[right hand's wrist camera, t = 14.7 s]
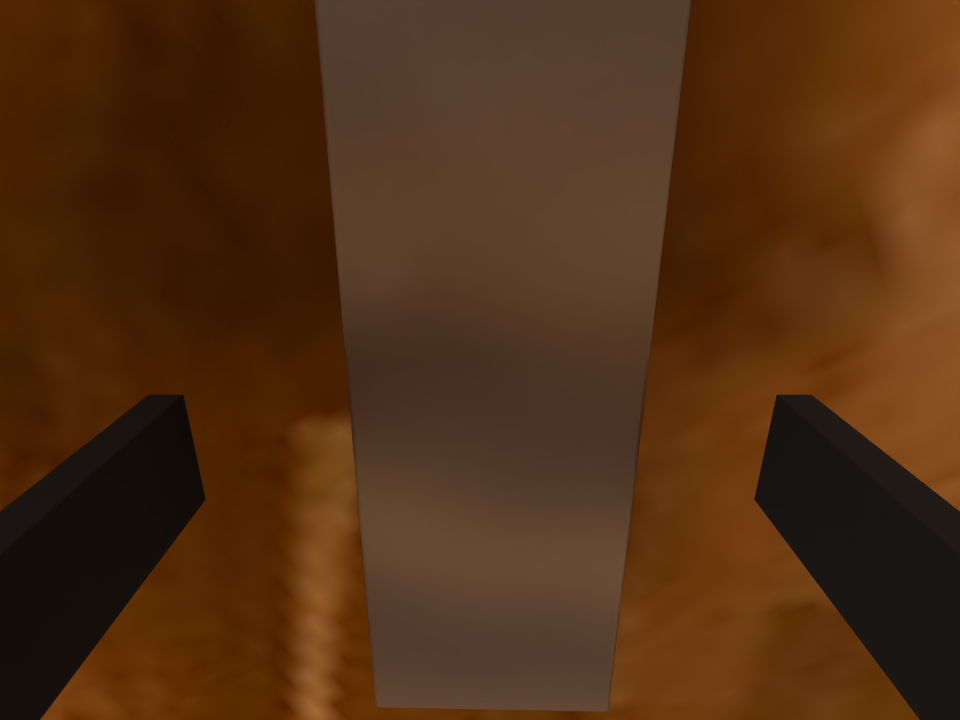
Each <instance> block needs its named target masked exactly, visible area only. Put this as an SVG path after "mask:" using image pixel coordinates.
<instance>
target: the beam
mask: <svg viewBox="0 0 960 720" xmlns="http://www.w3.org/2000/svg"><path fill="white" fill-rule="evenodd" d="M691 1H692V0H314V4H315V15H316V27H317V38H318V50H319V61H320V73H321V84H322V96H323V107H324V118H325V130H326V141H327V153H328V164H329V176H330V187H331V199H332V210H333V222H334V233H335V245H336V256H337V268H338V279H339V290H340V302H341V313H342V325H343V336H344V348H345V359H346V371H347V382H348V394H349V405H350V417H351V428H352V440H353V451H354V462H355V474H356V485H357V497H358V508H359V520H360V531H361V543H362V554H363V566H364V577H365V589H366V600H367V611H368V623H369V634H370V646H371V657H372V669H373V680H374V692H375V703H376V706H377V707H390V708H440V709H491V710H541V711H592V712H605V711H607V710H608V707H609V698H610V690H611V681H612V673H613V664H614V656H615V647H616V639H617V630H618V622H619V613H620V605H621V596H622V588H623V579H624V571H625V562H626V554H627V545H628V537H629V528H630V520H631V511H632V503H633V494H634V486H635V477H636V469H637V460H638V452H639V443H640V435H641V426H642V418H643V409H644V401H645V392H646V384H647V375H648V367H649V358H650V350H651V341H652V333H653V324H654V316H655V307H656V299H657V290H658V282H659V273H660V265H661V256H662V248H663V239H664V231H665V222H666V214H667V205H668V197H669V188H670V180H671V171H672V163H673V154H674V145H675V137H676V128H677V120H678V111H679V103H680V94H681V86H682V77H683V69H684V60H685V52H686V43H687V35H688V26H689V18H690V9H691Z"/></svg>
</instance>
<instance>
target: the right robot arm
mask: <svg viewBox="0 0 960 720" xmlns="http://www.w3.org/2000/svg"><path fill="white" fill-rule="evenodd" d="M204 501H205V495H204V490H203V485H202V481H201V476H200V471H199V467H198V462H197V457H196V452H195V448H194V443H193V438H192V434H191V429H190V424H189V420H188V415H187V410H186V406H185V401H184V396H183V395H148V396H147V397H145V398H144V399H143V400H141V401H140V402H139V403H138V404H136V405H135V406H134V407H133V408H131V409H130V410H129V411H127V412H126V413H125V414H124V415H122V416H121V417H120V418H119V419H117V420H116V421H115V422H113V423H112V424H111V425H110V426H108V427H107V428H106V429H105V430H103V431H102V432H101V433H100V434H98V435H97V436H96V437H94V438H93V439H92V440H91V441H89V442H88V443H87V444H86V445H84V446H83V447H82V448H80V449H79V450H78V451H77V452H75V453H74V454H73V455H72V456H70V457H69V458H68V459H67V460H65V461H64V462H63V463H61V464H60V465H59V466H58V467H56V468H55V469H54V470H53V471H51V472H50V473H49V474H47V475H46V476H45V477H44V478H42V479H41V480H40V481H39V482H37V483H36V484H35V485H33V486H32V487H31V488H30V489H28V490H27V491H26V492H25V493H23V494H22V495H21V496H20V497H18V498H17V499H16V500H14V501H13V502H12V503H11V504H9V505H8V506H7V507H6V508H4V509H3V510H2V511H0V720H40V719H41V718H42V716H43V715H44V714H45V712H46V711H47V710H48V708H49V707H50V706H51V704H52V703H53V702H54V700H55V699H56V698H57V696H58V695H59V694H60V693H61V691H62V690H63V689H64V687H65V686H66V685H67V683H68V682H69V681H70V679H71V678H72V677H73V675H74V674H75V673H76V671H77V670H78V669H79V667H80V666H81V665H82V663H83V662H84V661H85V659H86V658H87V657H88V655H89V654H90V653H91V651H92V650H93V649H94V647H95V646H96V645H97V643H98V642H99V641H100V639H101V638H102V637H103V635H104V634H105V633H106V631H107V630H108V629H109V627H110V626H111V625H112V623H113V622H114V621H115V619H116V618H117V617H118V615H119V614H120V613H121V611H122V610H123V609H124V607H125V606H126V605H127V603H128V602H129V601H130V599H131V598H132V597H133V595H134V594H135V593H136V591H137V590H138V589H139V587H140V586H141V585H142V583H143V582H144V581H145V579H146V578H147V577H148V575H149V574H150V573H151V571H152V570H153V569H154V567H155V566H156V565H157V563H158V562H159V561H160V559H161V558H162V557H163V555H164V554H165V553H166V551H167V550H168V549H169V547H170V546H171V545H172V543H173V542H174V541H175V539H176V538H177V537H178V535H179V534H180V533H181V531H182V530H183V529H184V527H185V526H186V525H187V523H188V522H189V521H190V519H191V518H192V517H193V515H194V514H195V513H196V511H197V510H198V509H199V507H200V506H201V505H202V503H203V502H204ZM755 501H756V502H757V503H758V505H759V506H760V507H761V509H762V510H763V511H764V513H765V514H766V515H767V517H768V518H769V519H770V521H771V522H772V523H773V525H774V526H775V527H776V529H777V530H778V531H779V533H780V534H781V535H782V537H783V538H784V539H785V541H786V542H787V543H788V545H789V546H790V547H791V549H792V550H793V551H794V553H795V554H796V555H797V557H798V558H799V559H800V561H801V562H802V563H803V565H804V566H805V567H806V569H807V570H808V571H809V573H810V574H811V575H812V577H813V578H814V579H815V581H816V582H817V583H818V585H819V586H820V587H821V589H822V590H823V591H824V593H825V594H826V595H827V597H828V598H829V599H830V601H831V602H832V603H833V605H834V606H835V607H836V609H837V610H838V611H839V613H840V614H841V615H842V617H843V618H844V619H845V621H846V622H847V623H848V625H849V626H850V627H851V629H852V630H853V631H854V633H855V634H856V635H857V637H858V638H859V639H860V641H861V642H862V643H863V645H864V646H865V647H866V649H867V650H868V651H869V653H870V654H871V655H872V657H873V658H874V659H875V661H876V662H877V663H878V665H879V666H880V667H881V669H882V670H883V671H884V673H885V674H886V675H887V677H888V678H889V679H890V681H891V682H892V683H893V685H894V686H895V687H896V689H897V690H898V691H899V693H900V694H901V695H902V696H903V698H904V699H905V700H906V702H907V703H908V704H909V706H910V707H911V708H912V710H913V711H914V712H915V714H916V715H917V716H918V718H919V719H920V720H960V511H958V510H957V509H956V508H954V507H953V506H952V505H951V504H949V503H948V502H947V501H946V500H944V499H943V498H942V497H940V496H939V495H938V494H937V493H935V492H934V491H933V490H932V489H930V488H929V487H928V486H927V485H925V484H924V483H923V482H921V481H920V480H919V479H918V478H916V477H915V476H914V475H913V474H911V473H910V472H909V471H907V470H906V469H905V468H904V467H902V466H901V465H900V464H899V463H897V462H896V461H895V460H893V459H892V458H891V457H890V456H888V455H887V454H886V453H885V452H883V451H882V450H881V449H880V448H878V447H877V446H876V445H874V444H873V443H872V442H871V441H869V440H868V439H867V438H866V437H864V436H863V435H862V434H860V433H859V432H858V431H857V430H855V429H854V428H853V427H852V426H850V425H849V424H848V423H847V422H845V421H844V420H843V419H841V418H840V417H839V416H838V415H836V414H835V413H834V412H833V411H831V410H830V409H829V408H827V407H826V406H825V405H824V404H822V403H821V402H820V401H819V400H817V399H816V398H815V397H813V396H812V395H777V396H776V401H775V406H774V410H773V415H772V420H771V424H770V429H769V434H768V438H767V443H766V448H765V452H764V457H763V462H762V467H761V471H760V476H759V481H758V485H757V490H756V495H755Z"/></svg>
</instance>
